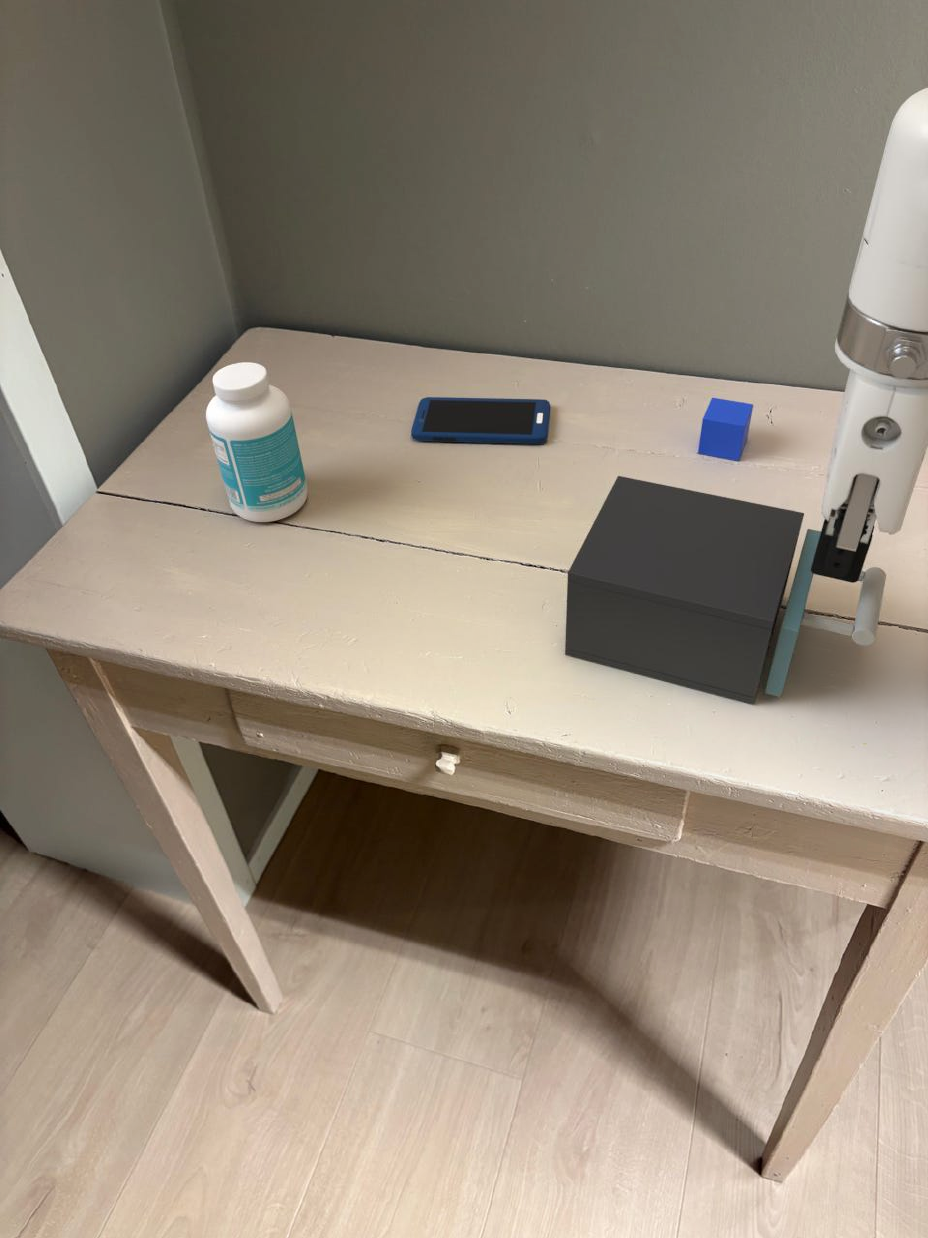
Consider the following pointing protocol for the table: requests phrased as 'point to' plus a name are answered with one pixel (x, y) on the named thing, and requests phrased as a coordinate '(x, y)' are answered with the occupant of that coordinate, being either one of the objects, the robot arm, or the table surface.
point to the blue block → (725, 429)
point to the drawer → (795, 616)
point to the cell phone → (482, 420)
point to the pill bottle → (256, 444)
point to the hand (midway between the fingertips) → (834, 570)
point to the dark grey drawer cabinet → (681, 586)
